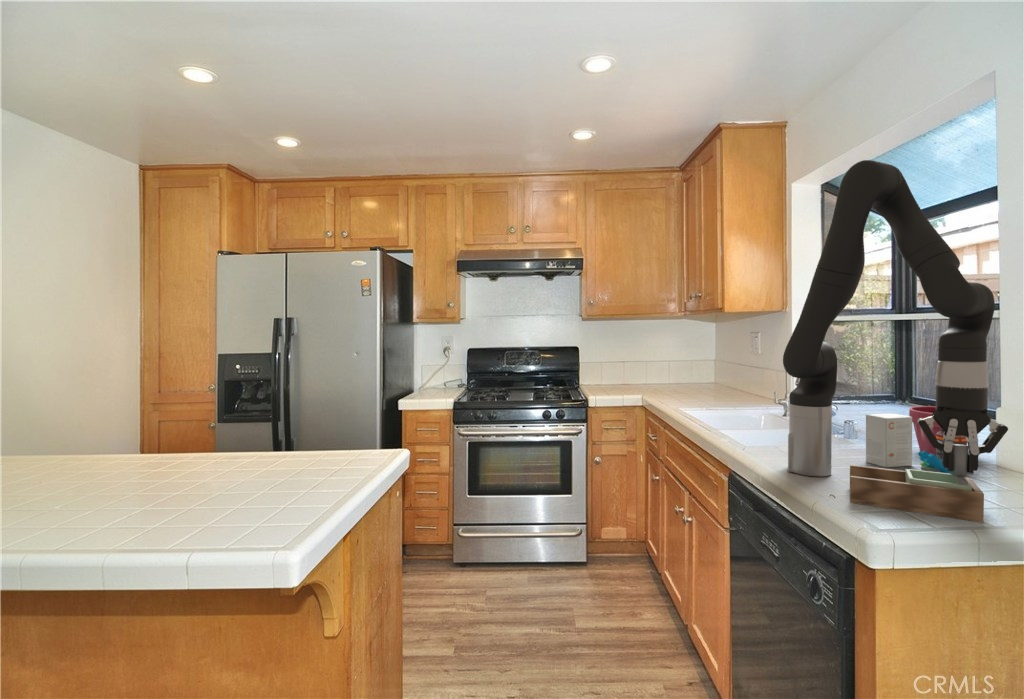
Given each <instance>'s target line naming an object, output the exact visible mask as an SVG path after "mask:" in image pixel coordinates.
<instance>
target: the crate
mask: <svg viewBox="0 0 1024 699" xmlns="http://www.w3.org/2000/svg"><path fill="white" fill-rule="evenodd" d="M952 453H953V471H951V474H948V473H939V472H930V471H921V470H922V469H921V470H919V469H912V468H911V469H910V468H905V471H906V472H905V483H913V484H921V485H929V486H937V487H945V488H953V489H961V490H969V491H972V485H971V484H970V483H969V482H968V480H967V479H966V478H969V476H968V475H969V473H968V444H967V445H961V444H953V447H952Z"/></svg>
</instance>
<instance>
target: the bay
mask: <svg viewBox="0 0 1024 699" xmlns="http://www.w3.org/2000/svg"><path fill="white" fill-rule="evenodd" d="M905 472H906V470H900V469H893V468H892V469H891V468H885V467H883V468H882V467H875V466H866V465H857V464H849V501H850V503H851V504H859V505H864V506H871V507H879V508H884V509H885V508H886V509H893V510H899V511H903V512H904V511H906V512H913V513H919V514H924V513H926V514H925V515H931V514H933V515H932V516H937V515H938V517H946V518H952V519H957V520H958V519H959V520H965V521H970V522H971V521H972V522H977V523H978V522H979V523H984V516H985V515H984V512H985V493H984V492H983V490H981V489H980V487H979V486H978V485H977V483H976V482H975V481H974V479H972V478H971V477H970V478H969V477H965V478H966V479H967V480H968V482H969V483H970V484H971V485H972V491H969V490H961V489H953V488H945V487H937V486H929V485H921V484H913V483H905Z"/></svg>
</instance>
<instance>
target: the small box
mask: <svg viewBox="0 0 1024 699" xmlns="http://www.w3.org/2000/svg"><path fill="white" fill-rule="evenodd" d="M865 462H866V463H869V464H872V465H875V466H879V467H881V468H882V467H883V468H885V469H888V468H895V467H896V468H897V467H898V468H899V467H910V466H913V422H912V417H910V416H909V415H904V414H900V413H899V414H898V413H870V414H865Z"/></svg>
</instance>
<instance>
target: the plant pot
mask: <svg viewBox="0 0 1024 699" xmlns="http://www.w3.org/2000/svg"><path fill="white" fill-rule="evenodd" d="M935 409H936V405H935V406H934V405H933V406H932V405H923V406H922V405H921V406H920V405H918V406H911V407H909V412H908V414H909V415H908V416H910V417H912V425H913V429H914V432H915V436H916V441H917V444H918V447H919V452H920V451H921V452H923V451H926V452H927V453H928V454H930V453H931V454H934V455H935V456H936V448H934V447H933V446H932V445H931V443H930V442H929V440H928V438H927V437H926V435H925V434H924V432H923V430H922V429H921V427H920V425H919V424H918V422H917V420H918V419H919V418H922V419H924V418H927V417H930V416H932V414H933V412H934V411H935ZM940 430H941V427H940V426H939V425H938V424H937V422H936V421H934V422H933V428H931V431H932V433H933V434H934V436H935V437H936V434H937V432H939V431H940Z"/></svg>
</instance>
